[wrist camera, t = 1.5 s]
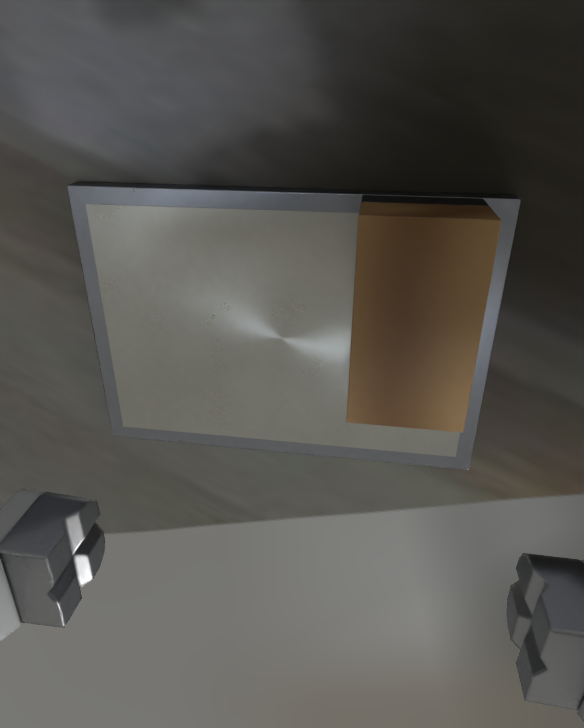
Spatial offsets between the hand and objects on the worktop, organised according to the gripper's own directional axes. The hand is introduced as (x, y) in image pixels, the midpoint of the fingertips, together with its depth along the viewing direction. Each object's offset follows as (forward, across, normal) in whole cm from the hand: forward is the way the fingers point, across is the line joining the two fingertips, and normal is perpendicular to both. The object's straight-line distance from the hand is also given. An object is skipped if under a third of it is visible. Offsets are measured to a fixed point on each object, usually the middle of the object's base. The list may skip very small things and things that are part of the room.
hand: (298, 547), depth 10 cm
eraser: (+16, -3, +1) cm, 17 cm away
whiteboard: (+17, +3, +3) cm, 18 cm away
